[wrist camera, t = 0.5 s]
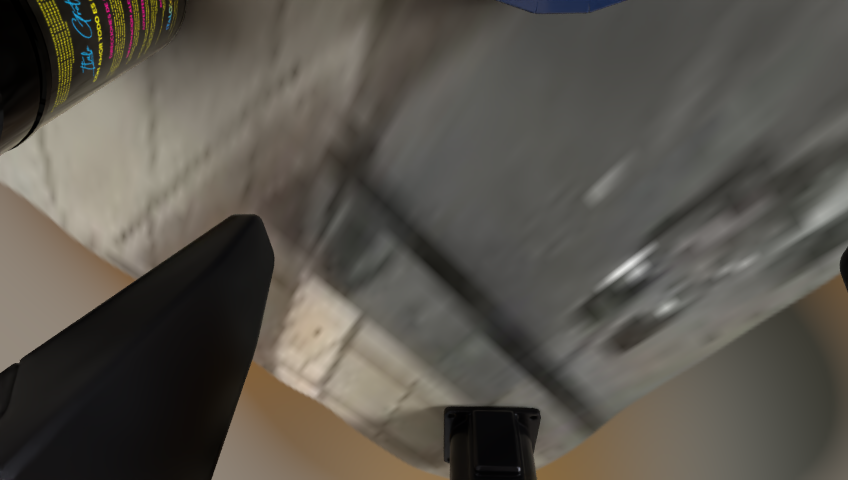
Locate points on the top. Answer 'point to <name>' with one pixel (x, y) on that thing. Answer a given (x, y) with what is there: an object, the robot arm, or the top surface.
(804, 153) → the top surface
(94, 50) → the supplement container
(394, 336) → the top surface
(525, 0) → the blue rimmed bowl
